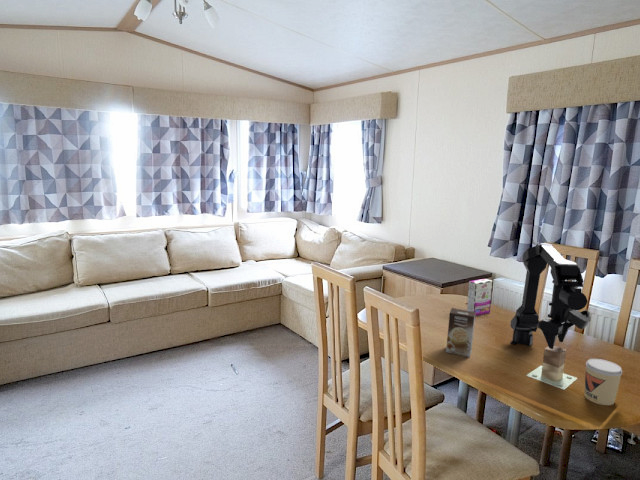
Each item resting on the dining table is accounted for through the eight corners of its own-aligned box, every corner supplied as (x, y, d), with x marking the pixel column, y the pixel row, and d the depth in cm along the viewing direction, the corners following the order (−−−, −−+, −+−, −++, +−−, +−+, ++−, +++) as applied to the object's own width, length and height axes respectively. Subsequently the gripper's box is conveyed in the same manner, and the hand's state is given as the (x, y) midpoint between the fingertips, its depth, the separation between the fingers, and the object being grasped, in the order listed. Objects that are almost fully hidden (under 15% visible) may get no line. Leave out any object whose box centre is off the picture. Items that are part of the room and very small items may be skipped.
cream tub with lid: (574, 393, 139) (579, 358, 137) (602, 393, 140) (607, 357, 138) (595, 410, 130) (600, 372, 128) (624, 409, 131) (630, 372, 129)
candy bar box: (482, 310, 217) (485, 278, 214) (490, 313, 213) (493, 280, 210) (465, 313, 212) (468, 280, 209) (473, 316, 207) (476, 283, 205)
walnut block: (542, 362, 147) (544, 348, 146) (548, 358, 150) (550, 344, 150) (558, 367, 143) (560, 353, 143) (564, 363, 147) (566, 349, 146)
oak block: (541, 376, 148) (542, 362, 147) (547, 371, 151) (548, 358, 150) (556, 381, 144) (558, 367, 143) (562, 377, 148) (564, 363, 147)
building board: (525, 378, 148) (526, 374, 148) (540, 367, 156) (541, 364, 156) (563, 392, 140) (564, 388, 139) (577, 380, 148) (577, 377, 147)
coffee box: (445, 352, 167) (448, 312, 164) (447, 346, 173) (451, 307, 170) (470, 357, 163) (474, 316, 161) (472, 351, 169) (475, 311, 166)
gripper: (578, 312, 131) (571, 361, 134) (599, 300, 143) (592, 345, 146) (540, 303, 139) (534, 349, 142) (562, 292, 151) (557, 335, 154)
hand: (556, 345), depth 146 cm, fingers open, 8 cm apart
